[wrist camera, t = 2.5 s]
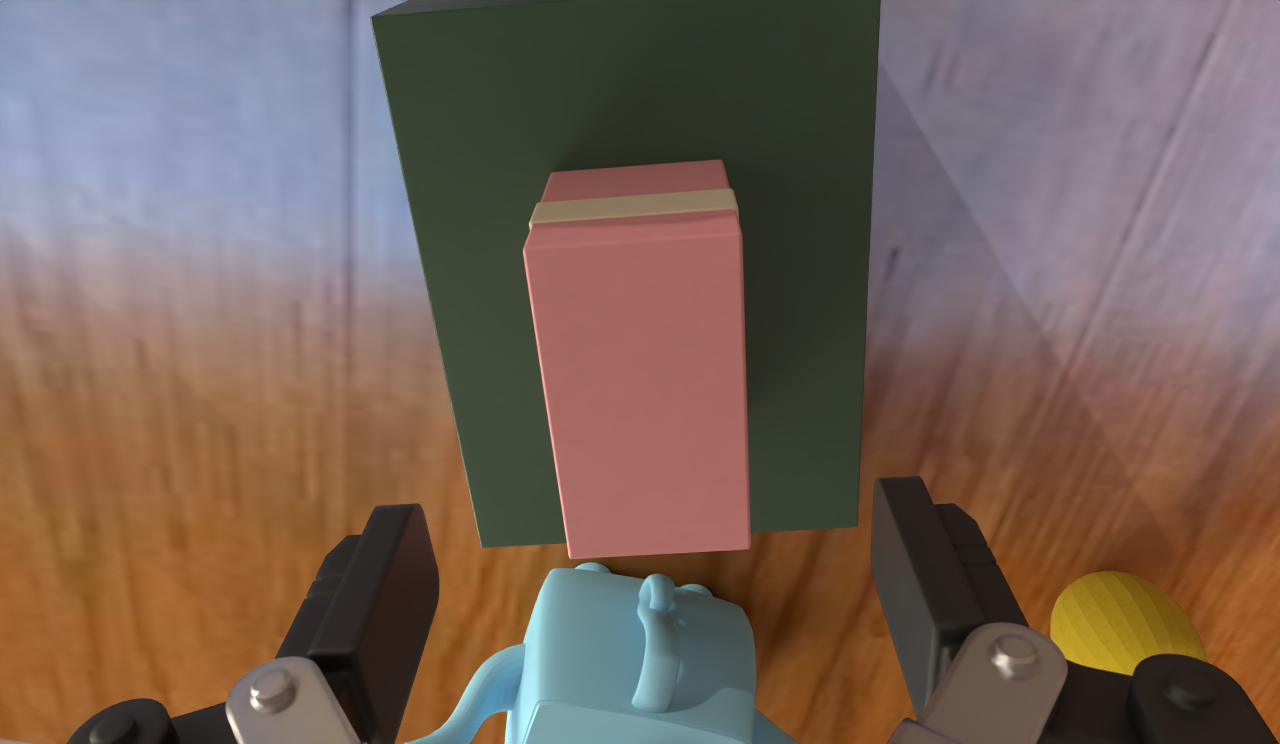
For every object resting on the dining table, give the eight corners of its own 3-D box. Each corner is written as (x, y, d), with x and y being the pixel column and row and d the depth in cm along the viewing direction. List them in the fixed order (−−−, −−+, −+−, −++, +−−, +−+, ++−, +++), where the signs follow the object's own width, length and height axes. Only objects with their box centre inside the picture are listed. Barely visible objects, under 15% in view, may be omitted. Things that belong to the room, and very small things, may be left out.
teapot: (846, 567, 42) (898, 751, 33) (752, 762, 48) (774, 960, 39) (464, 484, 40) (410, 655, 31) (420, 699, 46) (364, 892, 37)
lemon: (1078, 518, 40) (1169, 651, 33) (1171, 563, 41) (1279, 701, 34) (1000, 600, 42) (1069, 741, 35) (1090, 640, 43) (1176, 785, 36)
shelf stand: (521, 394, 37) (480, 548, 29) (453, -20, 30) (368, 16, 21) (808, 375, 37) (858, 527, 28) (813, -51, 29) (882, -28, 20)
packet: (583, 437, 26) (567, 562, 22) (547, 169, 23) (518, 246, 18) (734, 428, 26) (753, 552, 21) (724, 156, 22) (745, 229, 17)
